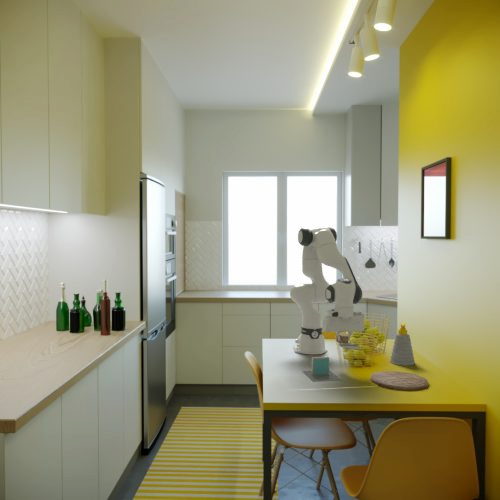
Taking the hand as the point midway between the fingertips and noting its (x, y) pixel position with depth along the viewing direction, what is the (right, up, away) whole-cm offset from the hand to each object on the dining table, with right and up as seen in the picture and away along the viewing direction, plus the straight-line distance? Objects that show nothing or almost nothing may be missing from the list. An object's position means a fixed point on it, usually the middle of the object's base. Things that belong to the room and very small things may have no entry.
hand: (343, 340), depth 234 cm
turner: (+1, -2, -2) cm, 3 cm away
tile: (-13, -14, -8) cm, 21 cm away
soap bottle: (+34, -15, +18) cm, 42 cm away
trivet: (+22, -16, -17) cm, 32 cm away
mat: (-12, -15, -10) cm, 22 cm away
